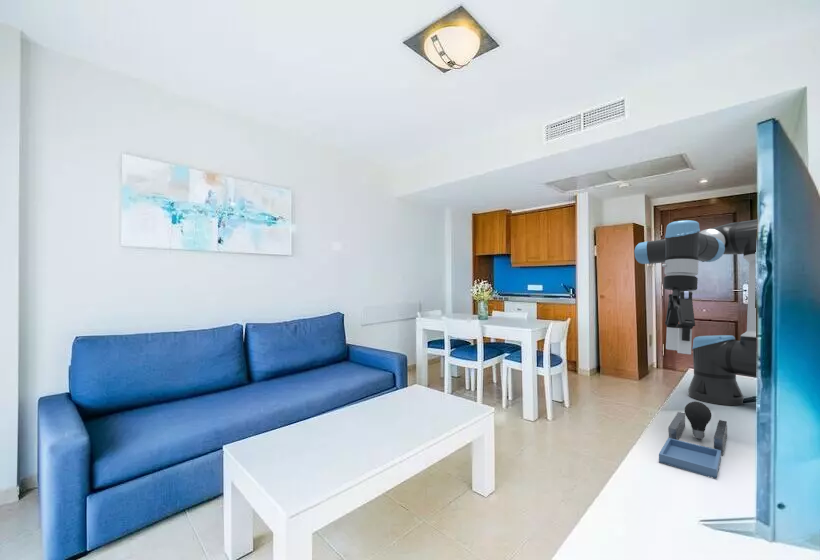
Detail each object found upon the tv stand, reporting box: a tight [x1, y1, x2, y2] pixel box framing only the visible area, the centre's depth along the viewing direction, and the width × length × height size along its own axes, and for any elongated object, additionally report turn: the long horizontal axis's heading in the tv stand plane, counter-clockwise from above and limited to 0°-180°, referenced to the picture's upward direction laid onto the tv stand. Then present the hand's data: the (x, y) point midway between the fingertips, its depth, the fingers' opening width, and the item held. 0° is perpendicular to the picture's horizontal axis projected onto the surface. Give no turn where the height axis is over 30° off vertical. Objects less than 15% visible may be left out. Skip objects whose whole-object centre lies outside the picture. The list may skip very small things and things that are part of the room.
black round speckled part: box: [684, 401, 713, 441], centre depth 93 cm, size 6×6×10 cm
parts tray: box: [658, 437, 722, 479], centre depth 82 cm, size 12×10×2 cm
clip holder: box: [667, 411, 728, 457], centre depth 93 cm, size 16×11×4 cm
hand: (677, 351), depth 96 cm, fingers open, 13 cm apart
